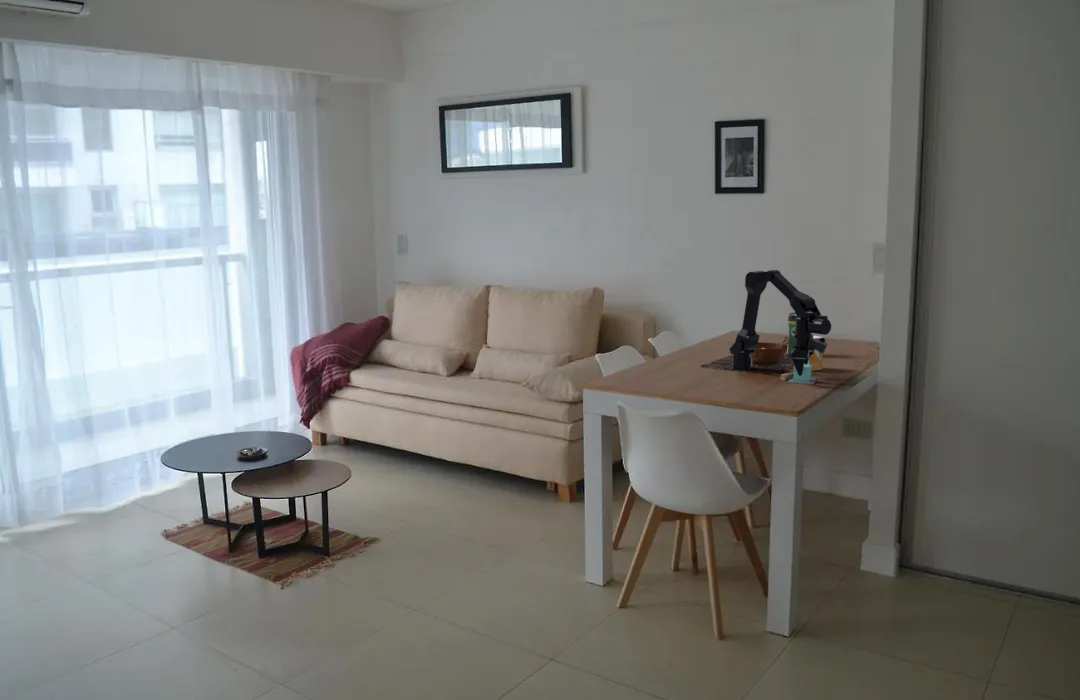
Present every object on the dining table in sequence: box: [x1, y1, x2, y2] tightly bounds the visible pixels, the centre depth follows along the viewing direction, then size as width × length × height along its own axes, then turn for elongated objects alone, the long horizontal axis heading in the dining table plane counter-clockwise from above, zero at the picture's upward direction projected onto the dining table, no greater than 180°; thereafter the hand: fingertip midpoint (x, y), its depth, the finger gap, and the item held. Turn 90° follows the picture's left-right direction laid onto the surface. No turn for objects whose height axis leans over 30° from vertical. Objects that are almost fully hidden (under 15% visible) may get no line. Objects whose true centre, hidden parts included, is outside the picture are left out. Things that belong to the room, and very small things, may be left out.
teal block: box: [793, 364, 812, 382], centre depth 332 cm, size 6×6×6 cm
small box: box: [808, 335, 824, 372], centre depth 353 cm, size 8×6×13 cm
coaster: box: [787, 377, 817, 385], centre depth 332 cm, size 9×9×1 cm
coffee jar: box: [786, 311, 796, 356], centre depth 383 cm, size 10×8×19 cm
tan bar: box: [780, 371, 794, 382], centre depth 337 cm, size 8×2×2 cm, turn 125°
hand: (802, 373), depth 332 cm, fingers open, 9 cm apart
